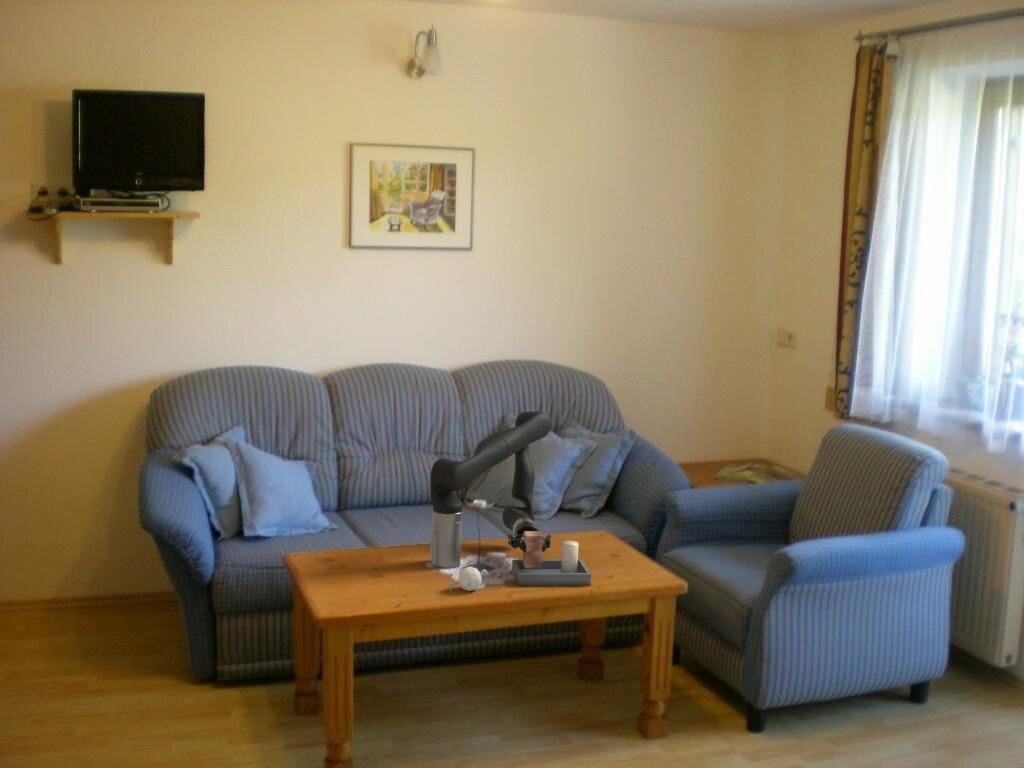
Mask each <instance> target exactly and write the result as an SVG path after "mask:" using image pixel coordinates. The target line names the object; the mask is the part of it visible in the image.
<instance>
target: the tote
mask: <svg viewBox="0 0 1024 768" xmlns="http://www.w3.org/2000/svg"><path fill="white" fill-rule="evenodd" d="M512 571H513V572H512ZM511 572H512V574H514V575H513V577H514V576H515V577H514V579H515V581H517V582H516V584H517V586H518V587H519V586H523V587H525V586H526V587H527V586H529V587H530V586H535V587H537V586H539V587H540V586H544V587H545V586H547V587H548V586H550V587H551V586H554V587H555V586H591V583H592V573H591V571H590V570H589V568H588V567H587V565H586V564H585V562H584V560H583V559H578V564H577V573H561V559H542V568H525V566H524V564H523V559H511Z"/></svg>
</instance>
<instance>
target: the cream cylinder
mask: <svg viewBox="0 0 1024 768" xmlns="http://www.w3.org/2000/svg"><path fill="white" fill-rule="evenodd" d="M579 544H580V543H579V542H578V541H576V540H575V541H574V540H564V541H562V542H561V559H560V560H561V573H577V564H578V560H579V559H578V558H579V546H580V545H579Z"/></svg>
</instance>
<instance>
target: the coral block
mask: <svg viewBox="0 0 1024 768" xmlns="http://www.w3.org/2000/svg"><path fill="white" fill-rule="evenodd" d="M543 537H544V535H543V534H542V531H541V530H538V531H524V542H525V544H526V552H523V551H522V552H523V553H522V554H523V555H522V560H523V564H524V566H525V568H542V560H543V552H542V546H543Z"/></svg>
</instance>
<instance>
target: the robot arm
mask: <svg viewBox="0 0 1024 768" xmlns="http://www.w3.org/2000/svg"><path fill="white" fill-rule="evenodd" d="M552 424H553V421H552V419H551V416H550V415H549V414H548V413H546V412H544V411H540V410H538V411H535V410H534V411H533V410H532V411H523V412H520V413H519V414H518V415H517V416H516V418H515V423H514V427H510V428H506V429H503V430H499V431H497V432H494V433H493V434H490V435H488V436H486V437H485V438H483V439H482V440H481V441H479V443H478V444H477V445H476V448H475V450H474V454H473V455H472V456H470V457H469V458H467V459H465V460H463V461H462V460H461V461H457V460H454V459H449V458H439V459H436V461H435V462H434V463H433V465H432V467H431V471H430V502H431V505H432V521H431V523H432V525H431V528H432V529H431V535H430V537H431V538H430V563H431V564H430V565H431V567H437V568H445V569H449V568H452V569H453V568H456V567H459V566H460V565H461V559H462V556H461V554H462V533H463V531H462V530H463V529H462V528H463V527H462V525H463V502H462V501H461V499H459V498H458V497H457V496H456V495H455V493H454V492H459V491H462V490H464V489H465V488H466V487H468V486H469V485H470V484H471V483H472V482H474V481H475V480H476V479H477V478H479V477H480V476H481V475H482V474H484V473H486V472H488V471H489V470H490V469H492V468H494V467H495V466H497V465H499V464H500V463H502V462H503V461H505V460H507V459H508V458H509V457H511V456H512V455H514V472H513V480H512V481H513V482H512V487H511V488H512V489H511V497H512V498H513V499H515V500H518V501H520V502H521V503H522V504H523V506H524V507H522V506H516V505H508V506H507V507H506V508H504V510H503V511H502V517H501V518H502V522H503V524H504V526H505V528H507V529H508V530H509V531H512V532H513V535H511V534H509V535H508V536H507V544H508V545H509V546H510V547H512V548H514V549H518V548H519V549H520V550H521V551H522V552H526V544H525V542H524V531H539V529H538V527H537V525H536V523H535V511H534V504H533V503H534V502H533V494H534V486H535V476H536V473H535V469H534V466H533V463H532V460H531V457H530V444H532V443H535V442H537V441H540V440H542V439H544V438H546V437H547V436H548V435H549V433H550V432H551V429H552V426H553V425H552ZM551 542H552V535H551V534H547V535H545V536H543V546H542V553H545V552H546V551H547V549H550V547H551V545H552V543H551Z"/></svg>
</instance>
